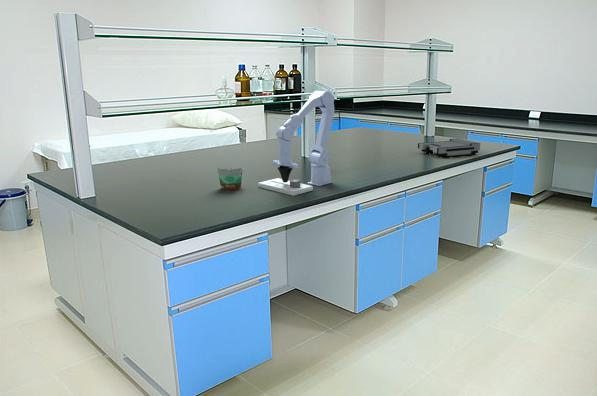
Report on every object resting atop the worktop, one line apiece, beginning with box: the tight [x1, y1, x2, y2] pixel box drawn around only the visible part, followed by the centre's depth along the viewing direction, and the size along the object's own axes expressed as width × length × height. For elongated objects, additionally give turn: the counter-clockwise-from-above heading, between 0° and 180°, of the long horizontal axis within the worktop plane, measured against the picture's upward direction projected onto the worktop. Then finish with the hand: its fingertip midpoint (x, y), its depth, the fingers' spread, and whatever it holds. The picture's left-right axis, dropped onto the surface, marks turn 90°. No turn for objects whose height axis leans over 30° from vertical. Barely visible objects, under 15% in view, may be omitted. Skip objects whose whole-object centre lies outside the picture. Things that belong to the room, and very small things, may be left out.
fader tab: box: [289, 179, 302, 188], centre depth 224 cm, size 4×3×3 cm
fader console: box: [257, 177, 314, 197], centre depth 229 cm, size 13×23×2 cm, turn 47°
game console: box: [417, 138, 481, 159], centre depth 313 cm, size 21×32×8 cm, turn 113°
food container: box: [216, 167, 245, 192], centre depth 227 cm, size 12×6×10 cm, turn 106°
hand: (285, 181), depth 229 cm, fingers closed
